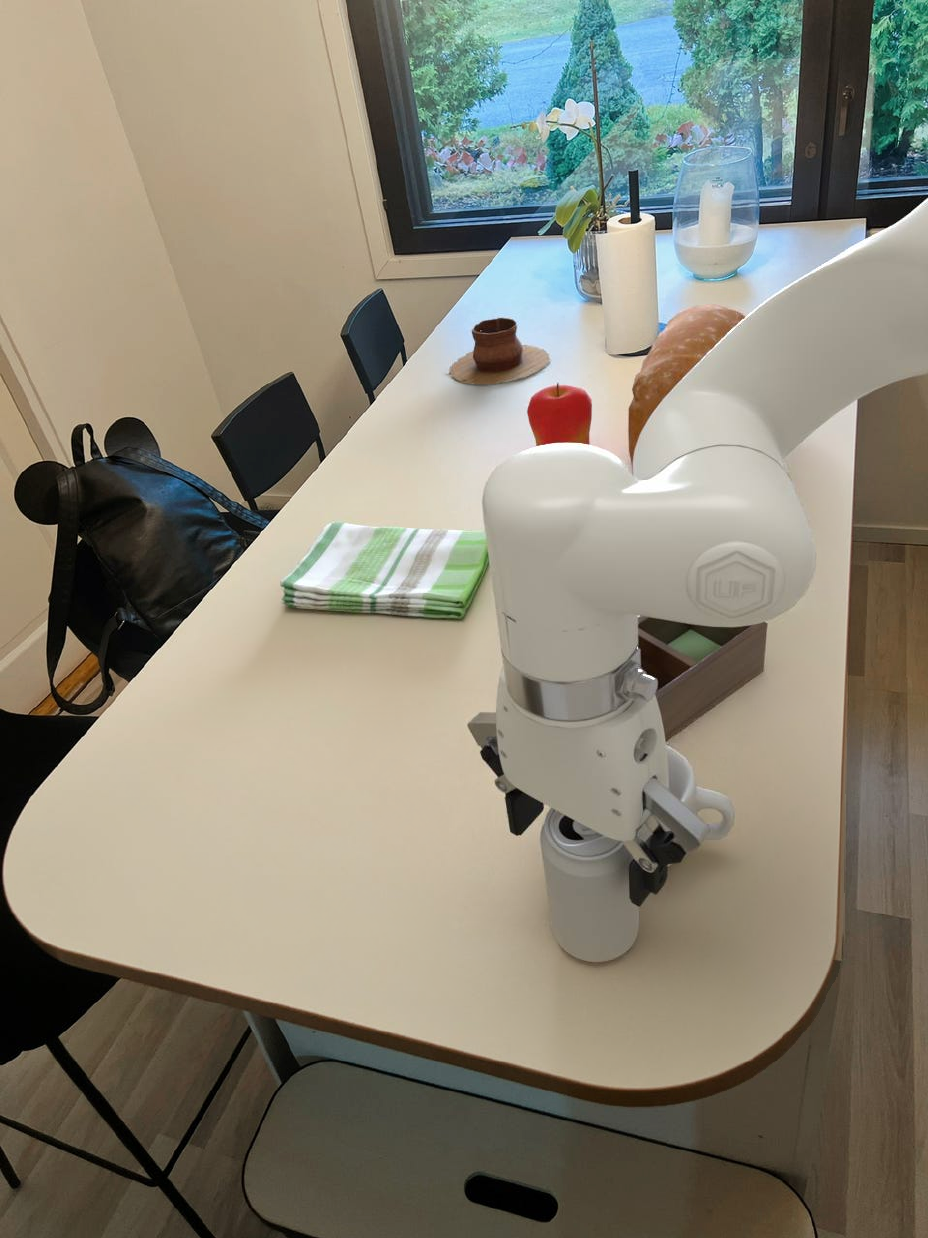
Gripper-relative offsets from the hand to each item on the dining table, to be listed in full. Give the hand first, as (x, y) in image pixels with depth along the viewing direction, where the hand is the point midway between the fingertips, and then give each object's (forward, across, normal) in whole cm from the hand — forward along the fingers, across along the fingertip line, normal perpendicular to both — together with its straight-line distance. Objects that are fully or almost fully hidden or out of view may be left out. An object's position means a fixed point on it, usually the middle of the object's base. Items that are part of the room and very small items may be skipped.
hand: (584, 853), depth 59 cm
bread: (+9, +31, -72) cm, 79 cm away
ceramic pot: (+9, +75, -83) cm, 112 cm away
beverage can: (+9, 0, 0) cm, 9 cm away
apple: (+9, +44, -59) cm, 74 cm away
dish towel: (+9, +46, -26) cm, 54 cm away
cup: (+9, 0, -9) cm, 13 cm away
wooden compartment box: (+9, +8, -25) cm, 28 cm away
